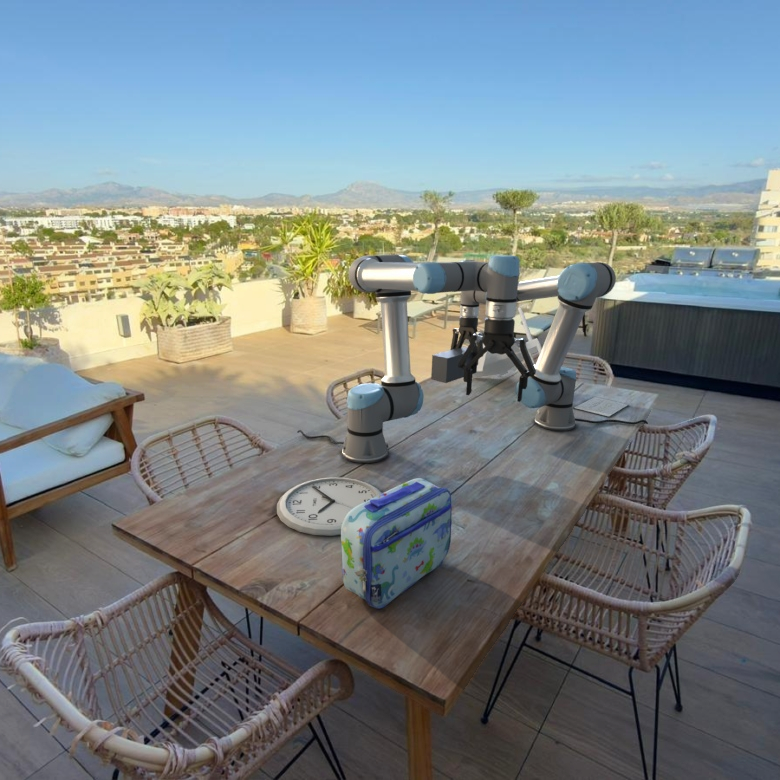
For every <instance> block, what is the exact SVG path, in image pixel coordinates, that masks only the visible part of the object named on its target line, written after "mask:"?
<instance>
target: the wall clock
mask: <svg viewBox="0 0 780 780" xmlns="http://www.w3.org/2000/svg"><path fill="white" fill-rule="evenodd" d="M382 493H383V492H382V491H381V490H380V489H379V488H377V487H376V486H374V485H372V484H371V483H369V482H365V481H362V480H359V479H355V478H349V477H338V476H337V477H335V476H333V477H332V476H331V477H322V478H317V479H312V480H307V481H305V482H302V483H299V484H297V485H295V486H293V487H292V488H290V489H288V490H287V491H286V492H285V493H284V494H283V495H281V496H280V498H279V499H278V502H277V503H276V515H277V517H278V518H279V520H280V521H281V522H282V523H283V524H285V525H286V526H287V527H288V528H290V529H293V530H295V531H297V532H299V533H303V534H308V535H312V536H327V537H328V536H329V537H331V536H332V537H333V536H341V528H342V523H343V520H344V518H345V517H346V515H347V514H348V512H349V511H350V510H351V509H353V508H354V507H356V506H358V505H360V504H362V503H364V502H366V501H368V500H370V499H372V498H374V497H376V496H378V495H380V494H382Z"/></svg>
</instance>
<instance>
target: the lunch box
mask: <svg viewBox="0 0 780 780" xmlns="http://www.w3.org/2000/svg"><path fill="white" fill-rule="evenodd" d="M451 539H452V494H451V491H450V490H449V488H446V487H439V486H437V485H435V484H434V483H432V482H430V481H428V480H426V479H424V478H421V477H416V478H413V479H410V480H408V481H405V482H403V483H402V484H398V485H397V486H395V487H392V488H390V489H389V490H386V491H384V492H382V494H380V495H378V496H376V497H374V498H372V499H370V500H368V501H366V502H364V503H362V504H360V505H358V506H356V507H354V508H353V509H351V510H350V511H349V512H348V514H347V515H346V517H345V518H344V520H343V523H342V528H341V535H340V546H341V569H342V570H341V571H342V582H343V585H344V588H345V589H346V590H347V591H349V592H351V593H353V594H355V595H356V596H358V597H359V598H361V599H362V600H364V601H365V602H366V603H367V605H368V606H370V607H372V608H374V609H378V610H379V609H380V610H381V609H383V608H384V607H387V605H389V604H390V603H391V602H392V601H393V600H395V599H396V598H397V597H399V596H400V595H402V594H403V593H404V592H405V591H407V590H408V589H409V588H411V587H412V586H413V585H415V584H416V583H418V581H419V580H420V579H421V578H423V577H425V576H427V575H428V574H429V573H431V572H432V571H434V570H435V569H437V568H438V567H439V566H441V564H442V563H443V562H444V561H445V559H446V557H447V556H448V554H449V550H450V547H451V541H452V540H451Z"/></svg>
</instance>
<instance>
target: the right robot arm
mask: <svg viewBox="0 0 780 780" xmlns="http://www.w3.org/2000/svg"><path fill="white" fill-rule="evenodd" d="M616 282H617V276H616V272H615V270H614V269H613V267H612V266H610V265H609V264H608V263H605V262H601V261H599V262H598V261H597V262H577V263H574V264H570V265H569V266H567V267H565V268H564V269H563V270H562V271H561V273H560V274H559V275H554V276H553V275H552V276H548V277H542V278H535V279H530V280H524V281H518V289H517V300H516V302H517V303H518V302H519V303H520V302H525V301H534V300H540V299H549V298H556V299H557V301H558V303H559V305H558V308H557V310H556V312H555V315H554V317H553V321H552V323H551V325H550V327H549V329H548V332H547V335H546V337H545V340H544V342H543V345H542V346H541V348H542V350H541V352H540V355H539V354H538V357H537V360H536V362H535V363H534V364H535V365H534V367H535V370H536V373H535V375H534V376H529V377H528V383H527V387H526V389H523V391H522V399H521V401H520V402H519V403H521V404H522V405H523V406H525V407H527V408H529V409H537V410H536V413H535V416H534V424H535V425H536V426H537V427H539V428H542V429H544V430H549V431H556V432H567V431H572V430H574V429H575V428H576V422H582V423H588V424H596V425H597V424H605V423H619V424H625V425H638V424H642V423H644V424H645V425H649V422H648V421H647V420H646V419H640V420H637V421H626V420H621V419H602V420H589V419H585V418H584V419H582V418H577V417H576V416H575V413H574V407H573V405H574V398H575V391H576V383H577V372H576V370H575V369H573V368H571V367H566V366H563V364H564V362H565V359H566V358H567V355H568V353H569V350H570V349H571V346H572V343H573V341H574V338H575V337H576V335H577V332H578V329H579V328H580V325H581V323H582V320H583V318H584V316H585V313H586V312H588V311H591V310H592V309H593V307H594V304H595V302H596V299H598V298H601V297H604V296H606V295H608V294H609V293H610V292H611V291H612V290H613V289H614V287H615V285H616ZM486 298H487V292H483V291H460V304H459V305H460V307H459V322H458V326H459V327H456V328H453V329H452V338H451V344H450V350H453V349H457V348H461V347H463V346H464V342H465V340H468V343H470V342H471V336H472V335H474V334H475V333H476V334H478V335H480V336H483V335H484V332H480V331H478V326H479V315H480V304H481V305H486ZM482 349H483V342H482V340H480V341H479V342H478V343H476V345H475V347H474V348H473V350H472V351H473V356H474V357H475V356H476V355H477V354H478V353H479V352H480V351H481V350H482ZM474 357H473V358H474ZM482 357H483V356H482ZM473 358H472V359H473ZM477 365H478V361H477V362H476V363H474V364H473V365H472V366H471V369H473V373H476V366H477ZM473 373H472V374H473ZM518 388H519V381H518V382H517V383H516V387H515V390H516V397H518ZM575 417H576V418H575Z"/></svg>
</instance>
